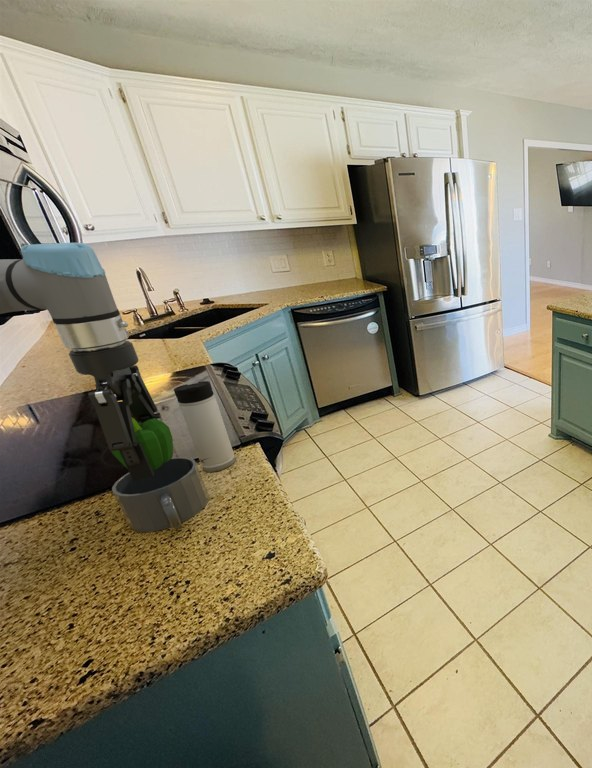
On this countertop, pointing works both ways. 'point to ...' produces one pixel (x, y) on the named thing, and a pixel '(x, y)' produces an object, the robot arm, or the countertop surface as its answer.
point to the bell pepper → (152, 442)
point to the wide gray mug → (162, 496)
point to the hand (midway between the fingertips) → (151, 464)
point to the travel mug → (205, 425)
